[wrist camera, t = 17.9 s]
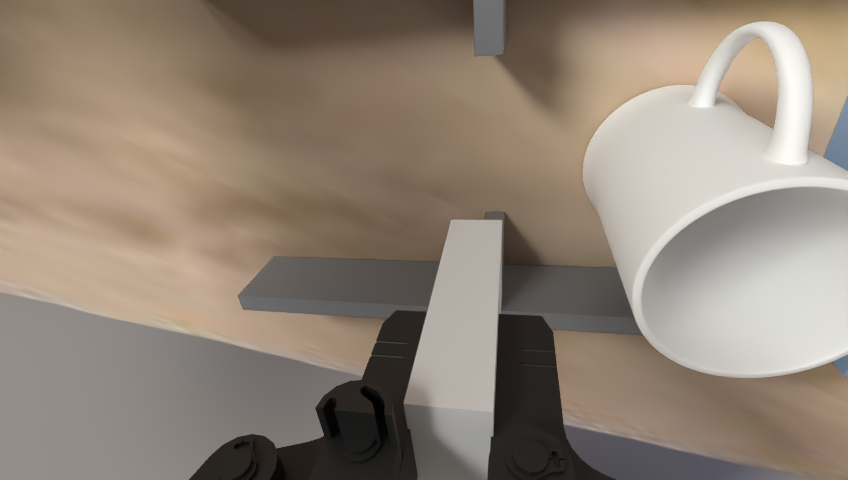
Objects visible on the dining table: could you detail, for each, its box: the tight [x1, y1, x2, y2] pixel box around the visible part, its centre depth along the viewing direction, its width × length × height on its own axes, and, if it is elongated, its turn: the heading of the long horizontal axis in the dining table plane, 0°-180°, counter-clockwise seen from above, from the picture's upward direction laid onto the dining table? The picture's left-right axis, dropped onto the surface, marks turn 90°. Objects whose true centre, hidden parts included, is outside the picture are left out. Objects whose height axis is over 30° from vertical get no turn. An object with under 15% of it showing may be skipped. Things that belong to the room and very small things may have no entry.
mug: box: [583, 21, 848, 378], centre depth 18 cm, size 12×8×12 cm
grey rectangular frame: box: [238, 0, 643, 335], centre depth 23 cm, size 20×34×5 cm, turn 95°
